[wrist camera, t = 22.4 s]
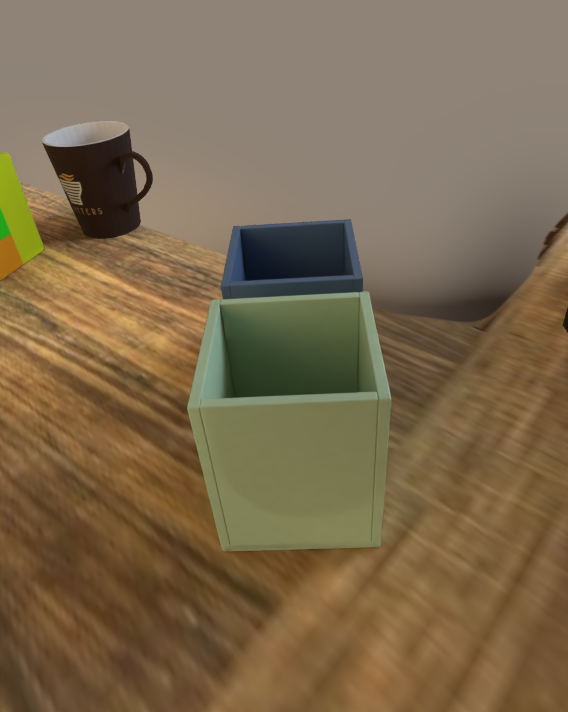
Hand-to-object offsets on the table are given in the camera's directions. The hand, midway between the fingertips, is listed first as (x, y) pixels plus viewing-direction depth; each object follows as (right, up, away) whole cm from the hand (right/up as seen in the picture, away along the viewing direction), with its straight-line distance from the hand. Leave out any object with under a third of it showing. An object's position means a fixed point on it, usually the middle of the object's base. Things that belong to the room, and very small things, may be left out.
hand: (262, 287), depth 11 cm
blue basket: (+2, -2, +28) cm, 28 cm away
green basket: (+1, -9, +19) cm, 21 cm away
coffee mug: (-18, +12, +49) cm, 53 cm away
